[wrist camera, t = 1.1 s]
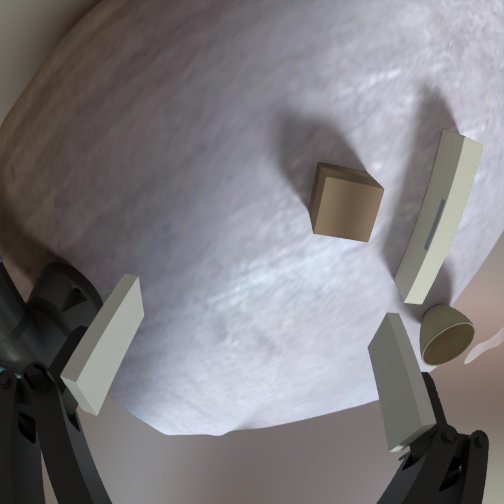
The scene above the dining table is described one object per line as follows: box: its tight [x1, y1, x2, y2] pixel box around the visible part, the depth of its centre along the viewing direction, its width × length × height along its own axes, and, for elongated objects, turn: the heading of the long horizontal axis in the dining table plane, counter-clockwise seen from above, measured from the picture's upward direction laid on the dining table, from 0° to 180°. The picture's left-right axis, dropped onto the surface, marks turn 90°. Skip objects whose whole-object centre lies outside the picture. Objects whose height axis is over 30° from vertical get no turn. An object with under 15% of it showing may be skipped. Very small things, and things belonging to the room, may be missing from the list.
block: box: [308, 162, 384, 242], centre depth 30 cm, size 6×6×6 cm
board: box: [394, 129, 483, 304], centre depth 30 cm, size 3×22×5 cm, turn 174°
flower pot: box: [420, 304, 476, 366], centre depth 38 cm, size 10×10×7 cm
